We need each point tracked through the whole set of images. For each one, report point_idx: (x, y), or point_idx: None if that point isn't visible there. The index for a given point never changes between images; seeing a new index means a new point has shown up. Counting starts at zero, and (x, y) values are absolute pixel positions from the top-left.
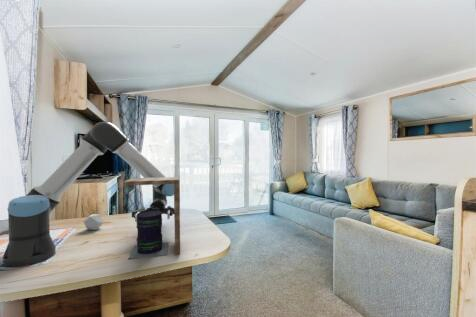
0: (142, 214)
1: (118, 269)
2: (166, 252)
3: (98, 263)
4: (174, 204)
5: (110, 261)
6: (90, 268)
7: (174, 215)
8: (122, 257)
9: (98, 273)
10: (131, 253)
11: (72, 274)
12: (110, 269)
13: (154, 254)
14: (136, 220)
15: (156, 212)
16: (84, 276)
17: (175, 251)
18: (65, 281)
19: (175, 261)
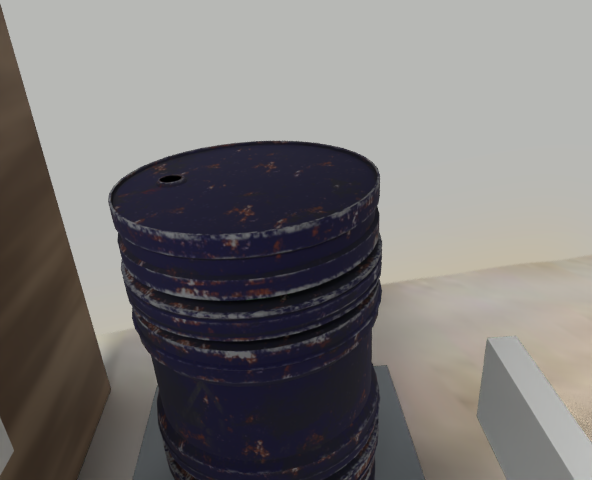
0: (316, 171)
1: (386, 302)
2: (156, 403)
3: (539, 351)
4: (10, 46)
5: (483, 362)
6: (535, 317)
7: (39, 142)
8: (440, 396)
9: (457, 287)
10: (399, 419)
11: (572, 289)
12: (424, 305)
13: None
14: (483, 402)
15: (168, 200)
16: (500, 277)
17: (102, 373)
18: (545, 262)
19: (128, 331)
